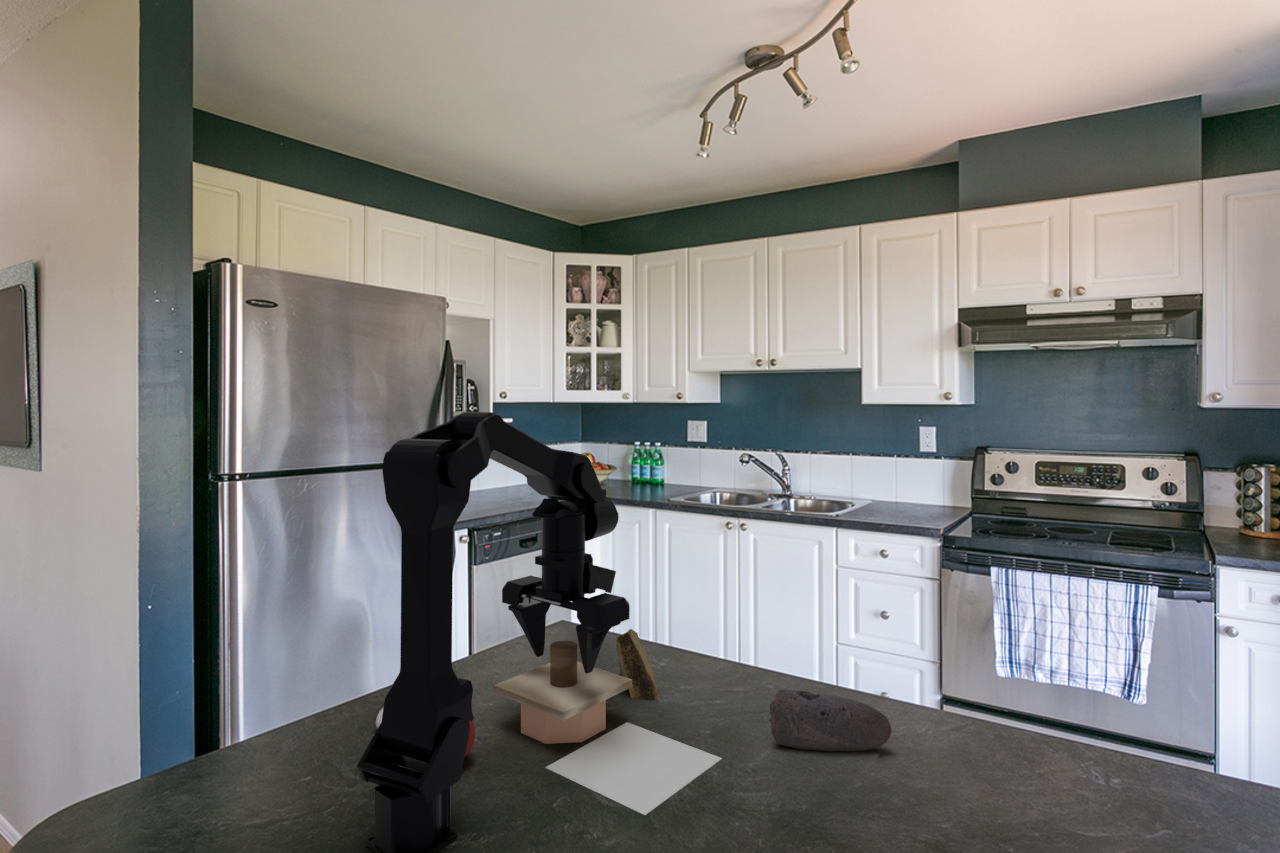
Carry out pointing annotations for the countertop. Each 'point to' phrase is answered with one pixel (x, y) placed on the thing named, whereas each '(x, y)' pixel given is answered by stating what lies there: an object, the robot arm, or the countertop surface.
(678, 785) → the mat
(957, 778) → the countertop surface
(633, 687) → the rock
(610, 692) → the board
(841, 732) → the perforated stone tool
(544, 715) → the octagonal clay planter
